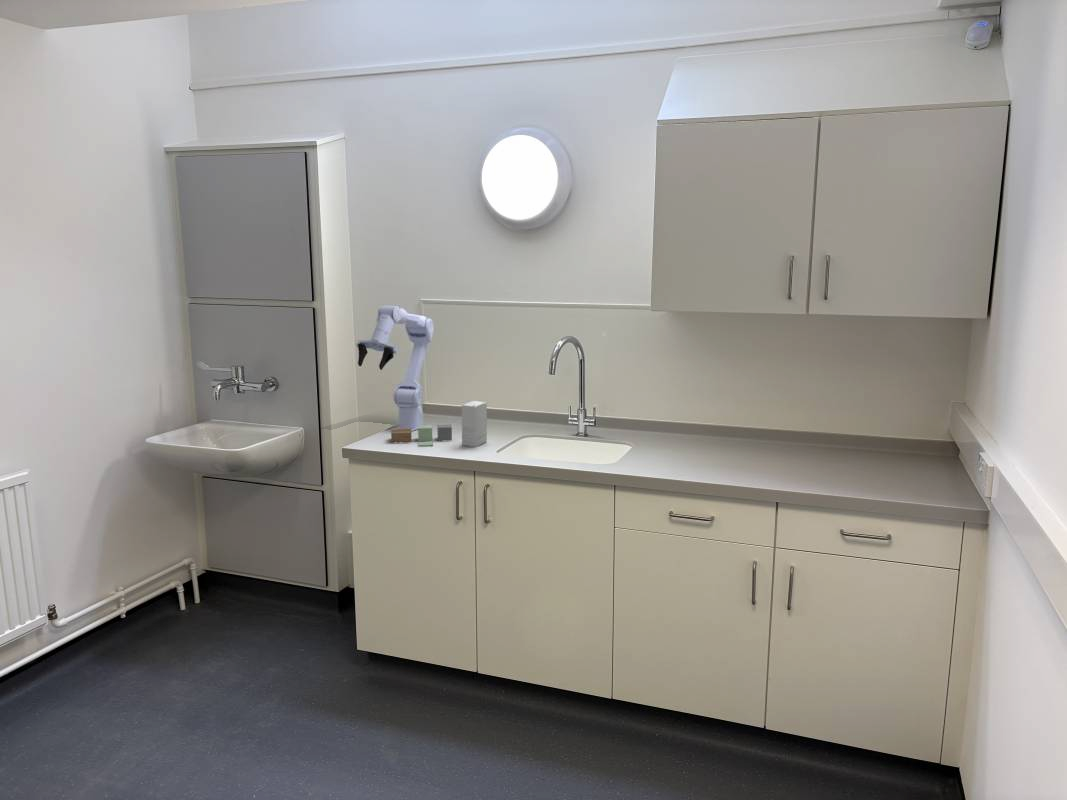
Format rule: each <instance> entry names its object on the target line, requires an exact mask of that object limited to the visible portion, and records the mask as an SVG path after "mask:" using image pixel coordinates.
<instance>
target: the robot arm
mask: <svg viewBox="0 0 1067 800" xmlns="http://www.w3.org/2000/svg"><path fill="white" fill-rule="evenodd" d="M376 322H377V323H376V325H375V328H374V330H373V333H372V336H371V339H365V340H361V339H360V340H359V339H357V341H356V343H355V346H356V348H358V349H357V350H358V359H357V360H358V361H357V364H358V365H357V366H359V367H362V366H363V362H364V360H365V358H366V356H367V354H368V349H371V350H373V351H377V352H383V353H382V357H381V359H380V362H379V365H378V367H379V370H380V371H381V370H382V371H383V369H384V368H385V366H386V365H387V364H388V363H389V362H390V361H391V360H392V359H393V358H394V357H395V356H394V355H396V354H397V353H398V351H399V347H398V346H397V345H393V344H390V343H388V342H389V339H390V337H391V334H392V331H393V328H394V326H395V324H398V325H403V324H404V328H405V331H406V334H407V336H408V340H409V341H410V342H411V343H413V348H412V352H411V355H410V358H409V359H410V360H409V363H408V367H407V371H406V374H405V378H404V380H402V381H400V382H399V383H397V386H396V389H394V392H393V395H392V397H393V402H394V403H395V405H396V407H398V425H399V426H397V427H394V429H398V428H411V432H413V431H417V430H418V425H424V416H423V415H424V413H423V408H422V406H421V403H422V402H423V401H422V400H423V392H424V390H423V388H422V386H421V385H420V383H419V379H420V376H421V371H422V369H423V368H422V367H423V365H424V359H425V355H426V353H427V348H428V345H429V343H430V342H431V341H432V339H433V335H434V331H435V327H434V326H435V325H434V322H433V319H431V318H428V317H427V316H424V315H419V314H415V313H408V312H407V310H406V309H404V308H402V306H398V305H397V306H395V305H382V306H381V307H379V308H378V309H377V317H376Z"/></svg>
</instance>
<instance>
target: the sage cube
mask: <svg viewBox="0 0 1067 800" xmlns="http://www.w3.org/2000/svg"><path fill="white" fill-rule="evenodd" d="M417 430H418V431H417V435H418V437H417V438H418V440H417V441H426V442H428V441H433V424H423V425H418V429H417Z"/></svg>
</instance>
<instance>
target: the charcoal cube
mask: <svg viewBox="0 0 1067 800" xmlns="http://www.w3.org/2000/svg"><path fill="white" fill-rule="evenodd" d="M436 425H437V426H436V427H437V430H436V431H437V432H436V433H437V442H442V441H441V440H452V441H453V431H452V430H453V429H452V428H453V427H452V424H451V423H449V424H436Z"/></svg>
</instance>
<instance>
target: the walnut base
mask: <svg viewBox="0 0 1067 800" xmlns="http://www.w3.org/2000/svg"><path fill="white" fill-rule="evenodd" d="M390 435H391V436H390V437H391V438H390V440H391V444H396V443H395V442H411V443H412V439H411V438H413V437H412V431H411V428H398V429H395V428H391V433H390Z"/></svg>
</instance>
